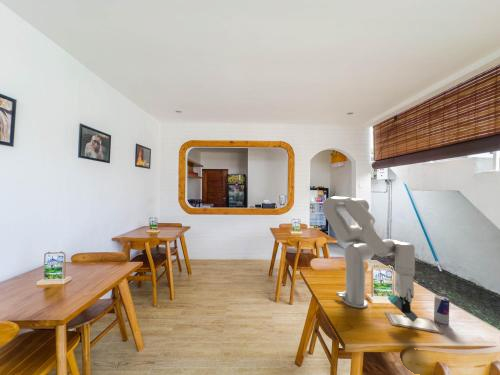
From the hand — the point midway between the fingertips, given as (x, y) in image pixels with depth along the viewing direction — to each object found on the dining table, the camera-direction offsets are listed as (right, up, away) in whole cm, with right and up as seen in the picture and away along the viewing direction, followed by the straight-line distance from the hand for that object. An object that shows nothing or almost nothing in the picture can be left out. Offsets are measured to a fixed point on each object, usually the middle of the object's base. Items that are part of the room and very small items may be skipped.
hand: (404, 310), depth 106 cm
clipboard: (+5, -7, +2) cm, 9 cm away
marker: (+4, -3, -1) cm, 5 cm away
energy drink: (+19, -8, +2) cm, 20 cm away
